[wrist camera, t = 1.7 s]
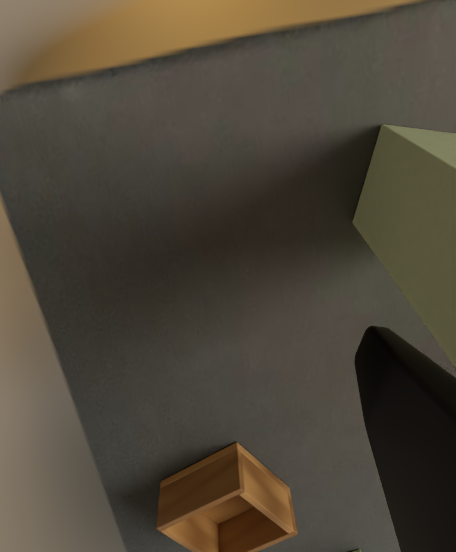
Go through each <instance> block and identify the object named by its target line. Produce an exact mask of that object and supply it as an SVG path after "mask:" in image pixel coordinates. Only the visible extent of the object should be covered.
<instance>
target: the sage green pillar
mask: <svg viewBox="0 0 456 552" xmlns="http://www.w3.org/2000/svg"><path fill="white" fill-rule="evenodd" d="M352 223H353V224H354V226H355V227H356V229H357V230H358V231H359V233H360V234H361V236H362V237H363V238H364V240H365V241H366V243H367V244H368V245H369V247H370V248H371V250H372V251H373V252H374V254H375V255H376V257H377V258H378V259H379V261H380V262H381V264H382V265H383V267H384V268H385V269H386V271H387V272H388V274H389V275H390V276H391V278H392V279H393V281H394V282H395V283H396V285H397V286H398V288H399V289H400V290H401V292H402V293H403V295H404V296H405V297H406V299H407V300H408V302H409V303H410V304H411V306H412V307H413V309H414V310H415V311H416V313H417V314H418V316H419V317H420V318H421V320H422V321H423V323H424V324H425V325H426V327H427V328H428V330H429V331H430V332H431V334H432V335H433V337H434V338H435V339H436V341H437V342H438V344H439V345H440V346H441V348H442V349H443V351H444V352H445V353H446V355H447V356H448V358H449V359H450V360H451V362H452V363H453V365H454V366H455V368H456V134H455V133H447V132H440V131H432V130H424V129H416V128H409V127H401V126H393V125H386V124H382V125H381V129H380V132H379V135H378V139H377V142H376V145H375V149H374V152H373V155H372V159H371V162H370V165H369V169H368V172H367V175H366V179H365V182H364V185H363V189H362V192H361V195H360V199H359V202H358V205H357V209H356V212H355V215H354V219H353V222H352Z"/></svg>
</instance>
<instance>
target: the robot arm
mask: <svg viewBox="0 0 456 552" xmlns="http://www.w3.org/2000/svg"><path fill="white" fill-rule="evenodd" d="M355 369H356V375H357V381H358V387H359V393H360V399H361V405H362V411H363V417H364V422H365V427H366V430H367V434H368V438H369V441H370V445H371V448H372V452H373V455H374V459H375V462H376V466H377V469H378V473H379V476H380V480H381V483H382V487H383V490H384V494H385V497H386V501H387V504H388V508H389V511H390V515H391V518H392V522H393V525H394V529H395V532H396V536H397V539H398V542H399V546H400V549H401V552H456V378H455V377H454V376H452V375H451V374H450V373H448V372H447V371H446V370H444V369H443V368H441V367H440V366H439V365H437V364H436V363H435V362H433V361H432V360H431V359H429V358H428V357H427V356H425V355H424V354H422V353H421V352H420V351H418V350H417V349H416V348H414V347H413V346H412V345H410V344H409V343H408V342H406V341H405V340H403V339H402V338H401V337H399V336H398V335H397V334H395V333H394V332H393V331H391V330H390V329H388V328H385V327H377V326H370V327H368V328H367V329H366V331H365V333H364V335H363V338H362V340H361V342H360V345H359V347H358V350H357V352H356V355H355Z"/></svg>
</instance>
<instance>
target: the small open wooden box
mask: <svg viewBox="0 0 456 552" xmlns="http://www.w3.org/2000/svg"><path fill="white" fill-rule="evenodd" d="M156 529H157V530H159V531H161V532H162V533H164V534H165V535H167V536H168V537H170V538H171V539H173V540H175V541H176V542H178V543H179V544H181V545H183V546H184V547H186V548H187V549H189V550H190V551H192V552H257V551H259V550H262V549H264V548H267V547H269V546H271V545H274V544H276V543H278V542H281V541H283V540H285V539H288V538H290V537H292V536H295V535H297V534H298V533H297V527H296V522H295V516H294V511H293V505H292V499H291V495H290V489H289V487H288V486H287V485H285V484H284V483H283V482H282V481H281V480H280V479H279V478H277V477H276V476H275V475H274V474H273V473H272V472H271V471H269V470H268V469H267V468H266V467H265V466H264V465H262V464H261V463H260V462H259V461H258V460H257V459H256V458H254V457H253V456H252V455H251V454H250V453H249V452H248V451H246V450H245V449H244V448H243V447H242V446H241V445H240V444H238V443H237V442H236V443H234V444H232V445H230V446H228V447H226V448H224V449H222V450H220V451H219V452H217V453H215V454H213V455H211V456H209V457H207V458H205V459H203V460H201V461H199V462H197V463H195V464H193V465H191V466H190V467H188V468H186V469H184V470H182V471H180V472H178V473H176V474H174V475H172V476H170V477H168V478H166V479H164V480H162V481H161V484H160V494H159V505H158V515H157V525H156Z"/></svg>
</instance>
